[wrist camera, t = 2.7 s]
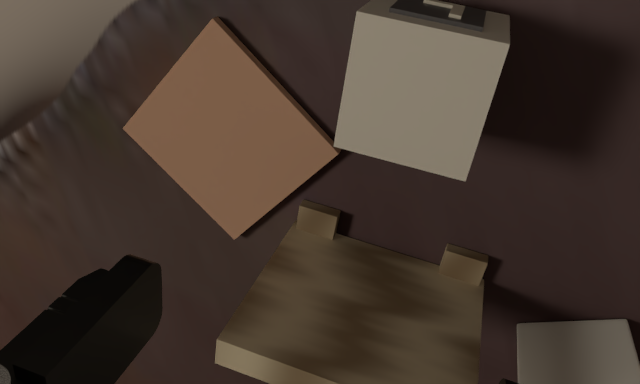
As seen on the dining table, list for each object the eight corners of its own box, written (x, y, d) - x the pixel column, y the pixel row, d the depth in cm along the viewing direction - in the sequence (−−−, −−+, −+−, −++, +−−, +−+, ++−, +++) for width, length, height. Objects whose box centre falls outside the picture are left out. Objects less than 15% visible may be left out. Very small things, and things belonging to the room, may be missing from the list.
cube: (472, 131, 28) (465, 181, 23) (363, 103, 30) (333, 146, 24) (511, 8, 25) (512, 35, 20) (386, -18, 26) (358, 3, 21)
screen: (493, 257, 31) (487, 407, 22) (467, 319, 34) (452, 477, 25) (299, 197, 33) (219, 312, 24) (288, 261, 36) (212, 386, 27)
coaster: (238, 234, 36) (234, 239, 36) (128, 125, 35) (122, 128, 34) (341, 149, 31) (338, 154, 31) (217, 16, 30) (212, 18, 29)
